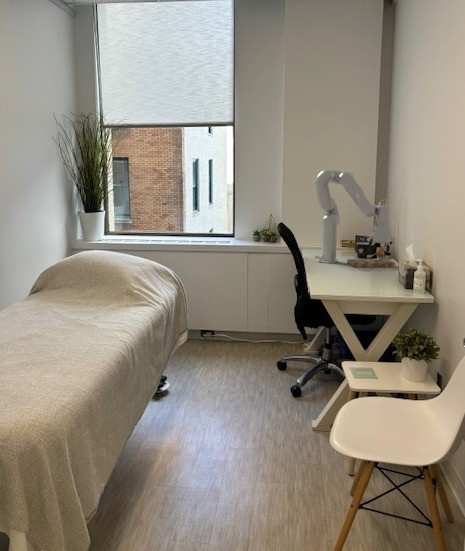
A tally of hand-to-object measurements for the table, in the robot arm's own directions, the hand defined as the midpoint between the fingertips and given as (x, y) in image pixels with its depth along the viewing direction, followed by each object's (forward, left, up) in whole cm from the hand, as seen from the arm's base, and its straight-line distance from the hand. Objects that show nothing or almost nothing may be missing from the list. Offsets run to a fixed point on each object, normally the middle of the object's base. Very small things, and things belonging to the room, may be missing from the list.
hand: (379, 251), depth 343 cm
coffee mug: (-2, +28, -9) cm, 29 cm away
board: (-6, 0, -9) cm, 10 cm away
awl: (0, 0, -9) cm, 9 cm away
